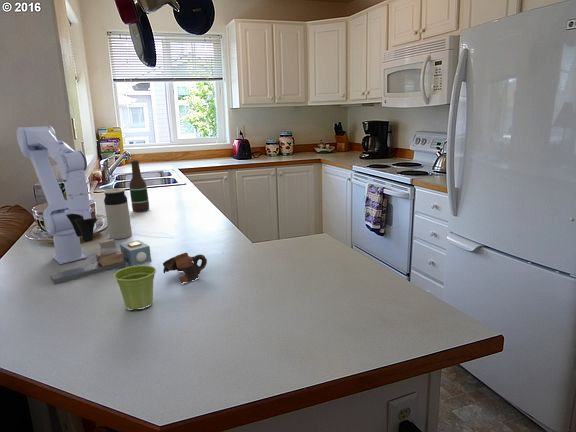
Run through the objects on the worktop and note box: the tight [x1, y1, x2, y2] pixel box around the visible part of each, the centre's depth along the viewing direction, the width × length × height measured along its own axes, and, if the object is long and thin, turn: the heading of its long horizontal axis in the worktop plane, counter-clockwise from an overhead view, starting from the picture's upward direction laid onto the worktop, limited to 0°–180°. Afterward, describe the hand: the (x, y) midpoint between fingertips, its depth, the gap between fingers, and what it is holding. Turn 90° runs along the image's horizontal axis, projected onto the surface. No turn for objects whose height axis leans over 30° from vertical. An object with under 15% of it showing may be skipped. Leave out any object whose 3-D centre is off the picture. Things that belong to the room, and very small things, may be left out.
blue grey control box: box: [119, 239, 152, 267], centre depth 133 cm, size 9×6×5 cm, turn 40°
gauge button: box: [128, 242, 141, 248], centre depth 133 cm, size 3×3×4 cm
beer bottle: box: [129, 159, 150, 213], centre depth 200 cm, size 8×8×24 cm
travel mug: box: [103, 187, 133, 240], centre depth 158 cm, size 8×8×18 cm
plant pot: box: [113, 264, 157, 309], centre depth 100 cm, size 9×9×9 cm
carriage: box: [95, 238, 124, 266], centre depth 127 cm, size 6×6×6 cm
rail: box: [49, 259, 128, 285], centre depth 125 cm, size 5×20×2 cm, turn 130°
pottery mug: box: [162, 252, 208, 284], centre depth 118 cm, size 12×10×8 cm
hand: (84, 238), depth 126 cm, fingers open, 7 cm apart
